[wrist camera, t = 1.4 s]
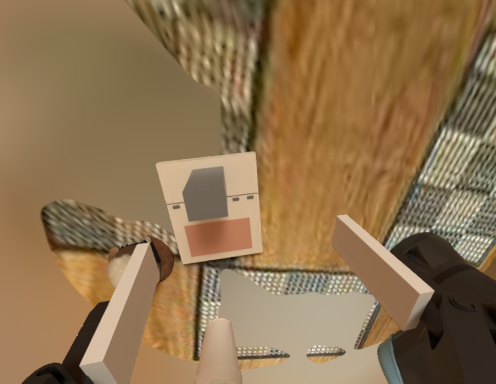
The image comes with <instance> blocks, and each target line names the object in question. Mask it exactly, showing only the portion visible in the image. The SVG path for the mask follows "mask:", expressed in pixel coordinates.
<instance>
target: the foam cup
mask: <svg viewBox="0 0 496 384" xmlns="http://www.w3.org/2000/svg"><path fill="white" fill-rule="evenodd" d="M194 384H243V383H242V375H241V372H240V369H239V363H238V358H237V352H236V346H235V341H234V335H233V330H232V325H231V322H230V321H229V320H227V319H223V318H216V319H214V320H211V321H210V322H209V323H208V324H207V326H206V330H205V334H204V339H203V344H202V349H201V354H200V359H199V364H198V369H197V374H196V378H195V381H194Z"/></svg>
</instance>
